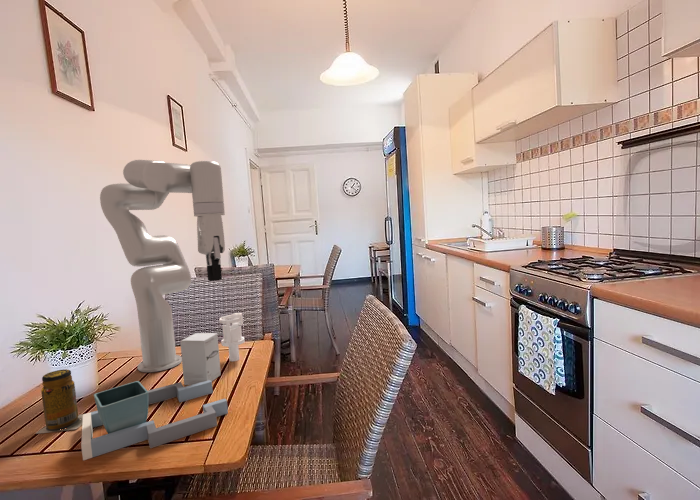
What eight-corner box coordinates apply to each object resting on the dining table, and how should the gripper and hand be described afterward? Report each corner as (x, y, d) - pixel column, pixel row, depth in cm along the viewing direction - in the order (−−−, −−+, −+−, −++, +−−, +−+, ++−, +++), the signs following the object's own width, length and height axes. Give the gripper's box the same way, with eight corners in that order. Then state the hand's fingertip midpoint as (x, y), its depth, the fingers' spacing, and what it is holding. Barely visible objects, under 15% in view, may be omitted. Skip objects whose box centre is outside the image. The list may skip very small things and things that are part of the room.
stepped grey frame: (84, 420, 89) (83, 407, 88) (207, 385, 104) (206, 375, 104) (82, 471, 70) (80, 455, 69) (233, 420, 85) (232, 407, 85)
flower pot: (105, 450, 76) (100, 407, 75) (97, 433, 83) (92, 393, 82) (153, 432, 82) (149, 391, 81) (142, 417, 88) (138, 380, 88)
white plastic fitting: (242, 363, 119) (238, 316, 118) (219, 364, 120) (215, 317, 118) (248, 355, 126) (245, 310, 125) (227, 356, 127) (223, 311, 125)
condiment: (57, 417, 91) (51, 368, 90) (94, 413, 92) (89, 365, 91) (35, 434, 84) (28, 381, 83) (76, 430, 84) (69, 377, 83)
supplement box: (207, 386, 104) (203, 340, 103) (183, 385, 105) (178, 340, 104) (221, 375, 111) (218, 332, 110) (198, 374, 112) (195, 332, 111)
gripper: (188, 211, 104) (194, 279, 105) (200, 209, 91) (206, 285, 93) (216, 211, 108) (221, 275, 109) (232, 208, 95) (237, 281, 97)
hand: (215, 279), depth 101 cm, fingers closed
